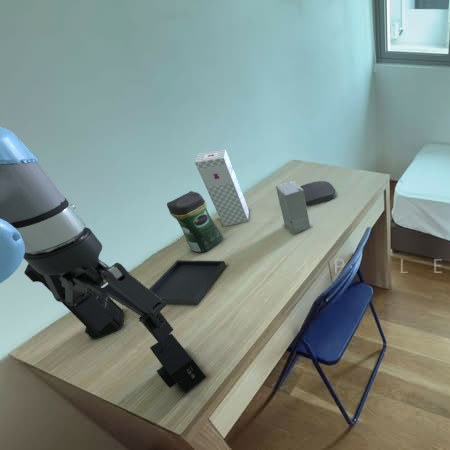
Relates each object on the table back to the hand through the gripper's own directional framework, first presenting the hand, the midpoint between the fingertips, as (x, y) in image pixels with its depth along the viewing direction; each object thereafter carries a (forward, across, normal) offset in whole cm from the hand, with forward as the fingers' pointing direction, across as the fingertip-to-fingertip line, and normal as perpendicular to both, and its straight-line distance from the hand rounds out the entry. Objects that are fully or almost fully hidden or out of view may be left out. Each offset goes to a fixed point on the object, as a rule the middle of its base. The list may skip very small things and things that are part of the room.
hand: (135, 330), depth 56 cm
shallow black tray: (+16, +19, -25) cm, 35 cm away
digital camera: (+17, -1, -1) cm, 17 cm away
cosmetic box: (+17, 0, -56) cm, 59 cm away
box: (+17, +26, -58) cm, 66 cm away
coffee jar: (+17, +26, -42) cm, 52 cm away
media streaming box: (+17, +3, -78) cm, 80 cm away
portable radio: (+17, +28, -8) cm, 33 cm away
